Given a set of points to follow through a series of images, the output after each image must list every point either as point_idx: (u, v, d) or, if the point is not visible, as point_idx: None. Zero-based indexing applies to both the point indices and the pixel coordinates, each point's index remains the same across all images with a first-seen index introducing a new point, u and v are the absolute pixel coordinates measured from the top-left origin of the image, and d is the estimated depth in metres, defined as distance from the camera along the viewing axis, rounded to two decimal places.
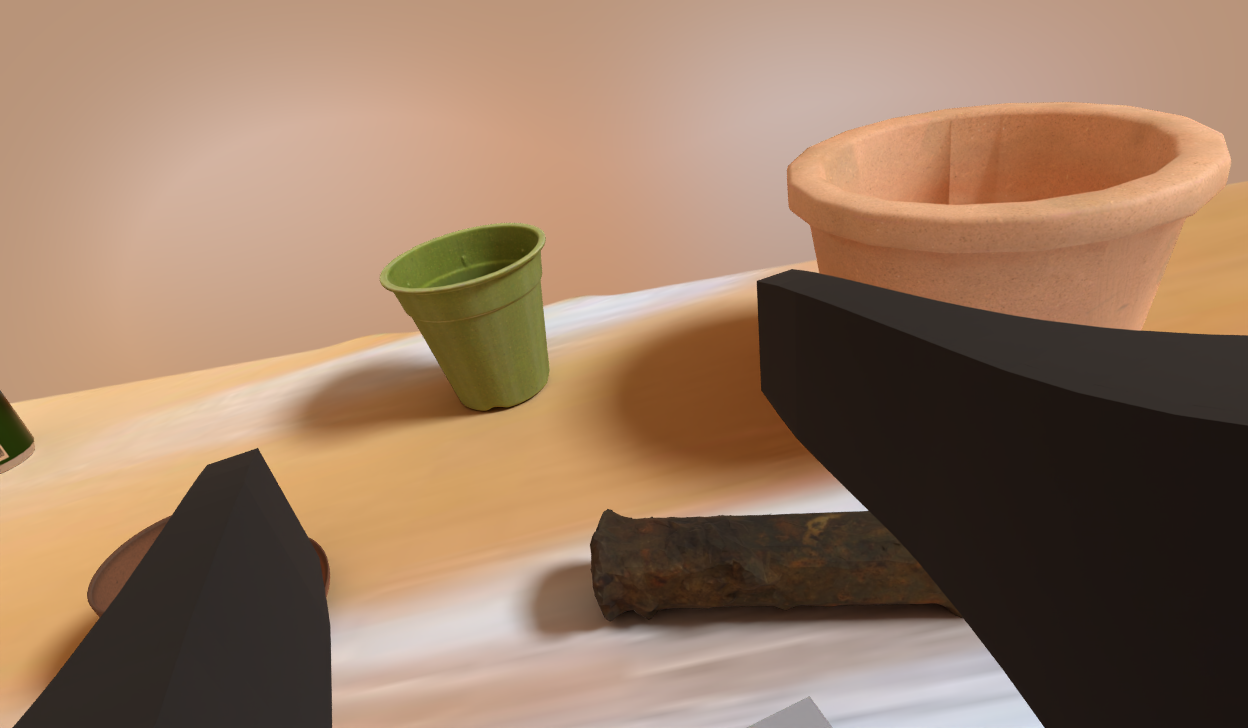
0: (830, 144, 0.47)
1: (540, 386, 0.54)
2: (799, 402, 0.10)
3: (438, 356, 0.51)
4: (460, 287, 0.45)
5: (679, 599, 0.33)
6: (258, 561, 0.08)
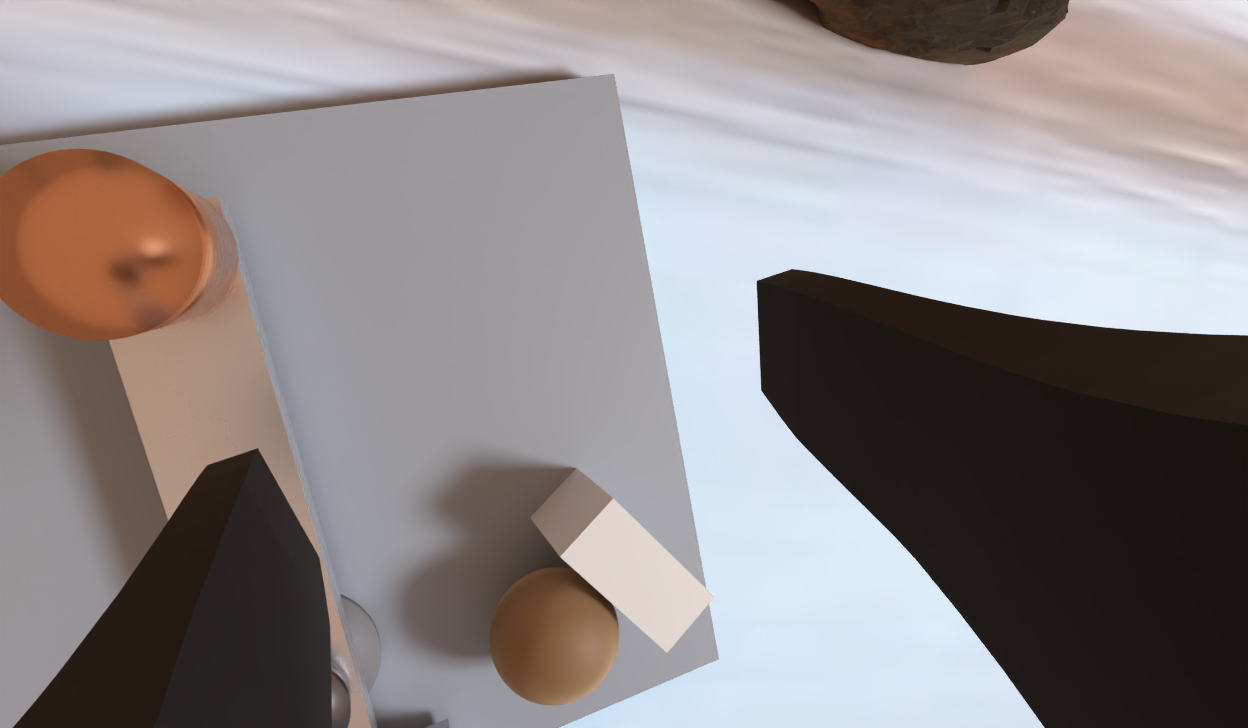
0: None
1: None
2: (799, 402, 0.10)
3: None
4: None
5: None
6: (258, 561, 0.08)
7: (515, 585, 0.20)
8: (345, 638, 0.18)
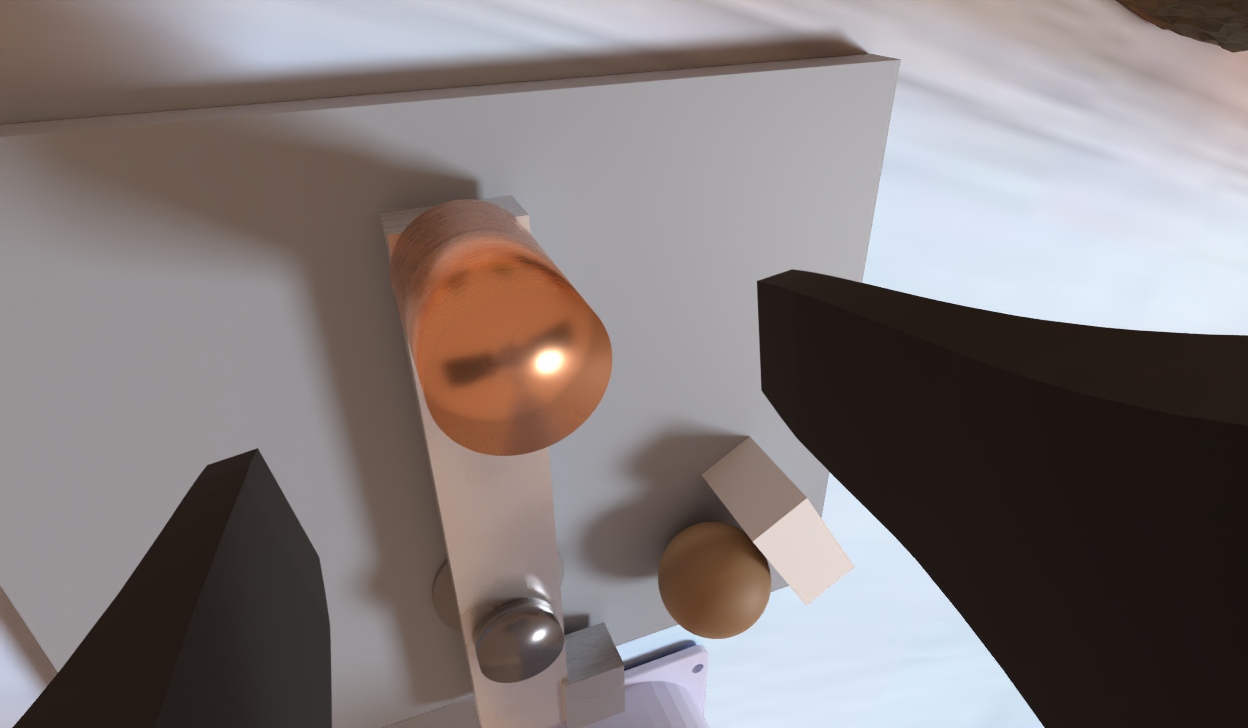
0: None
1: None
2: (799, 402, 0.10)
3: None
4: None
5: None
6: (258, 561, 0.08)
7: (691, 541, 0.22)
8: (559, 585, 0.20)
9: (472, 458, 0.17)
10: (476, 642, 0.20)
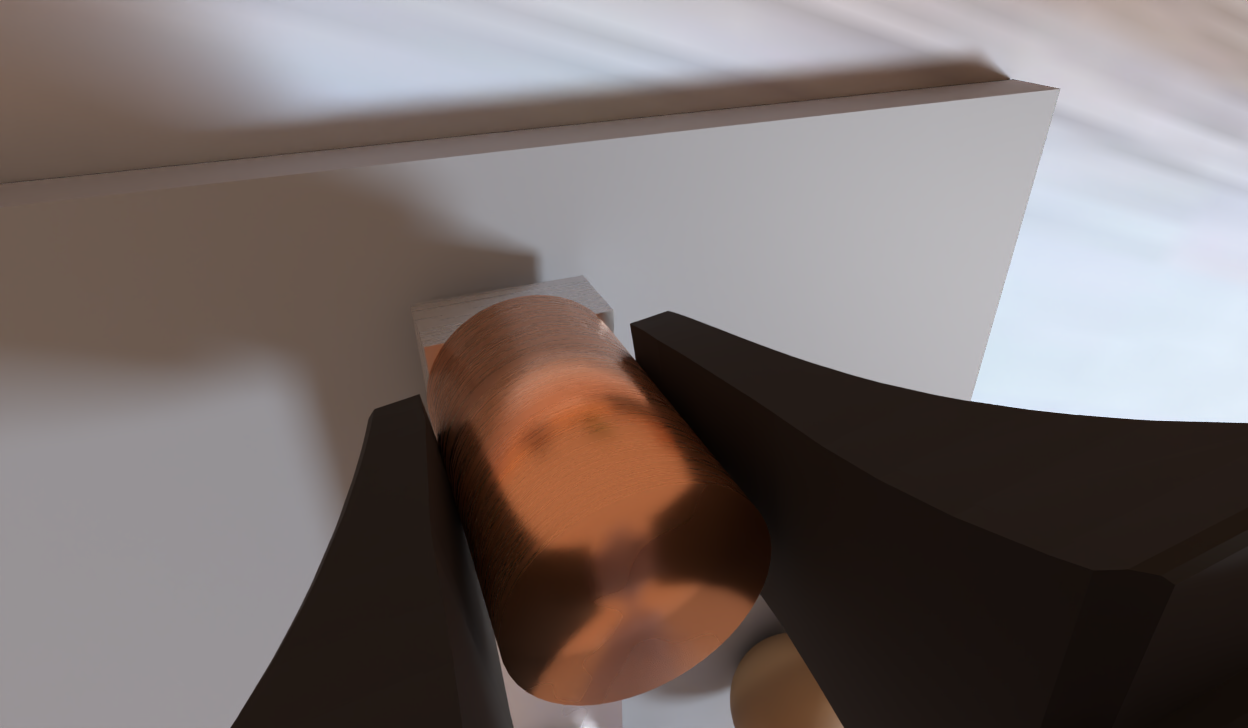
0: None
1: None
2: None
3: None
4: None
5: None
6: (444, 492, 0.08)
7: (773, 664, 0.18)
8: None
9: None
10: None
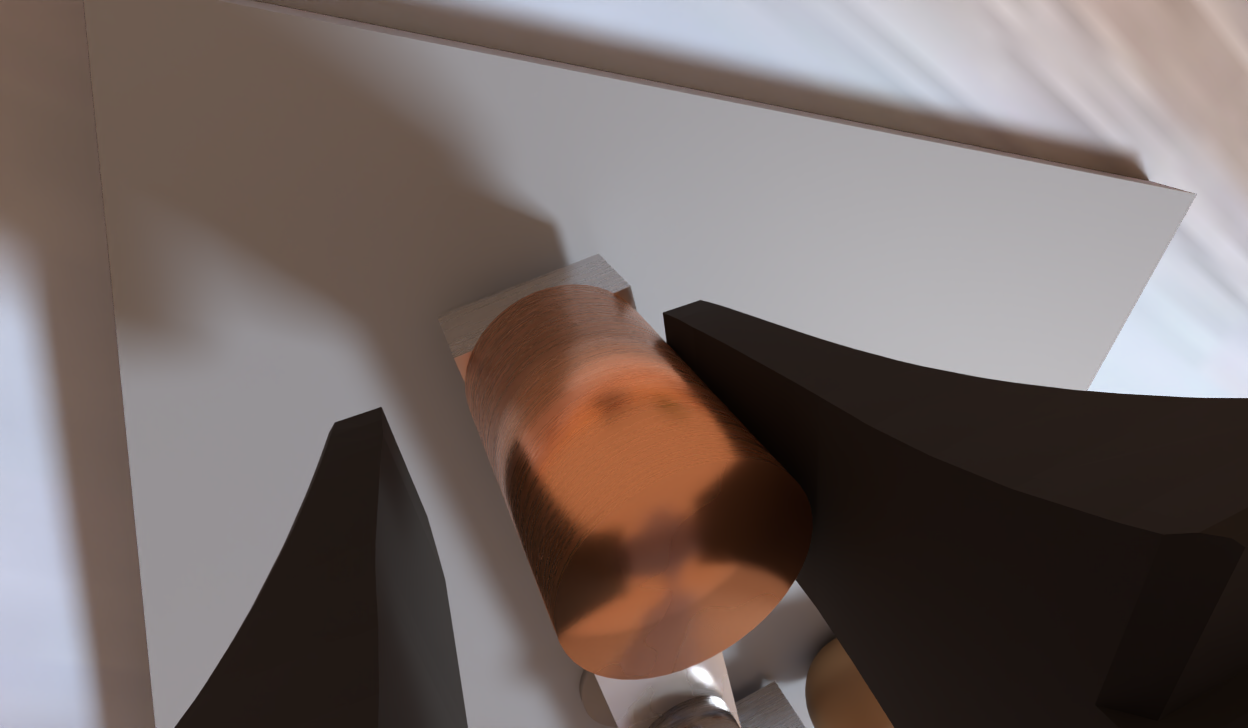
0: None
1: None
2: None
3: None
4: None
5: None
6: (400, 508, 0.08)
7: None
8: (726, 676, 0.17)
9: None
10: None
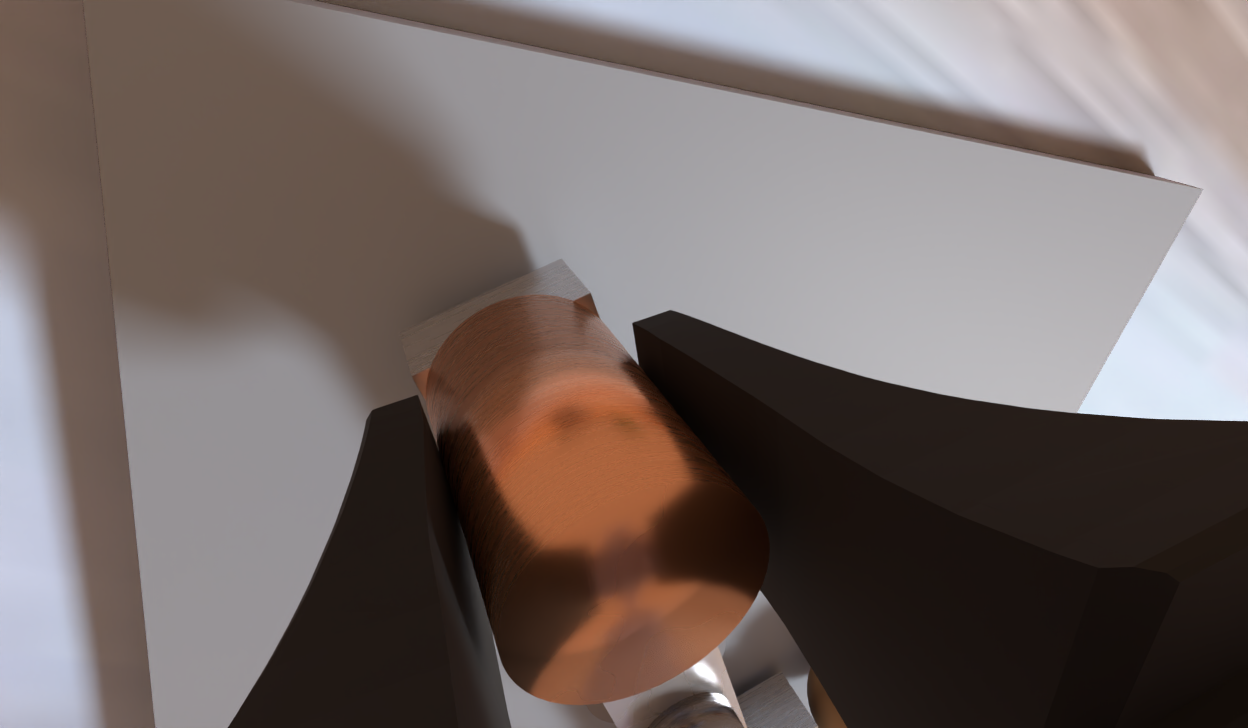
0: None
1: None
2: None
3: None
4: None
5: None
6: (441, 493, 0.08)
7: None
8: None
9: None
10: None
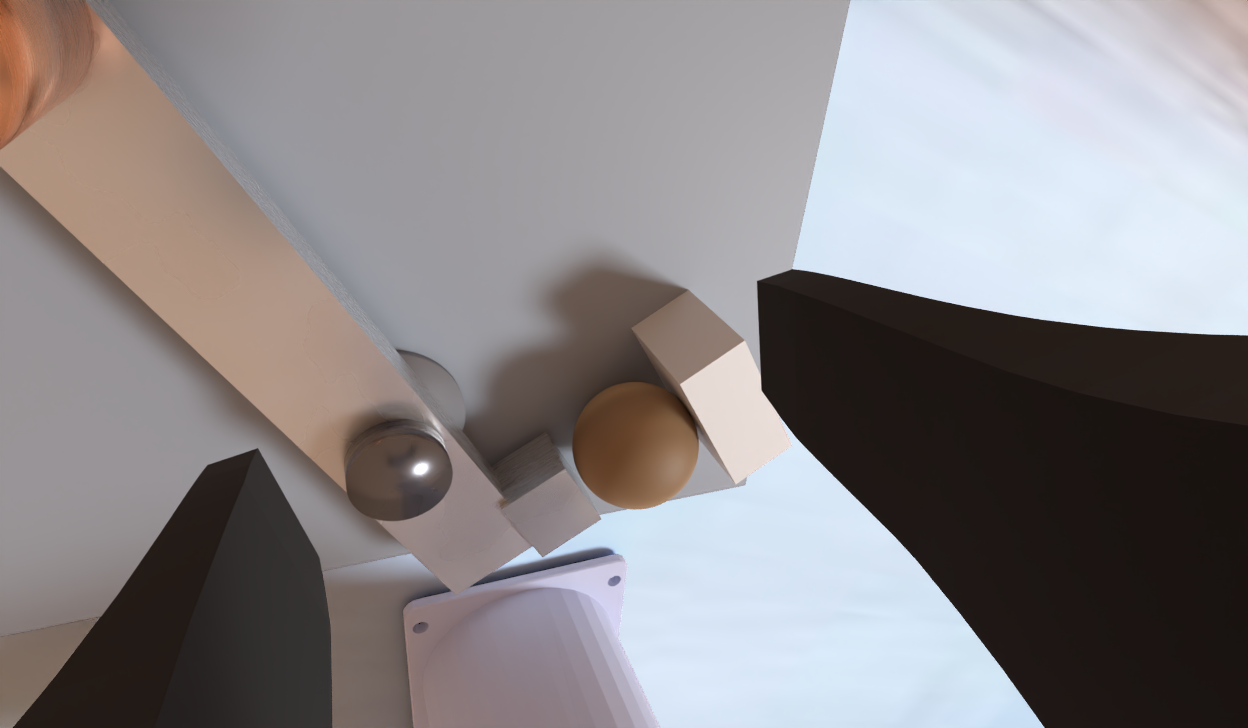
0: None
1: None
2: (799, 402, 0.10)
3: None
4: None
5: None
6: (258, 561, 0.08)
7: (612, 393, 0.20)
8: (420, 398, 0.17)
9: (183, 270, 0.14)
10: None
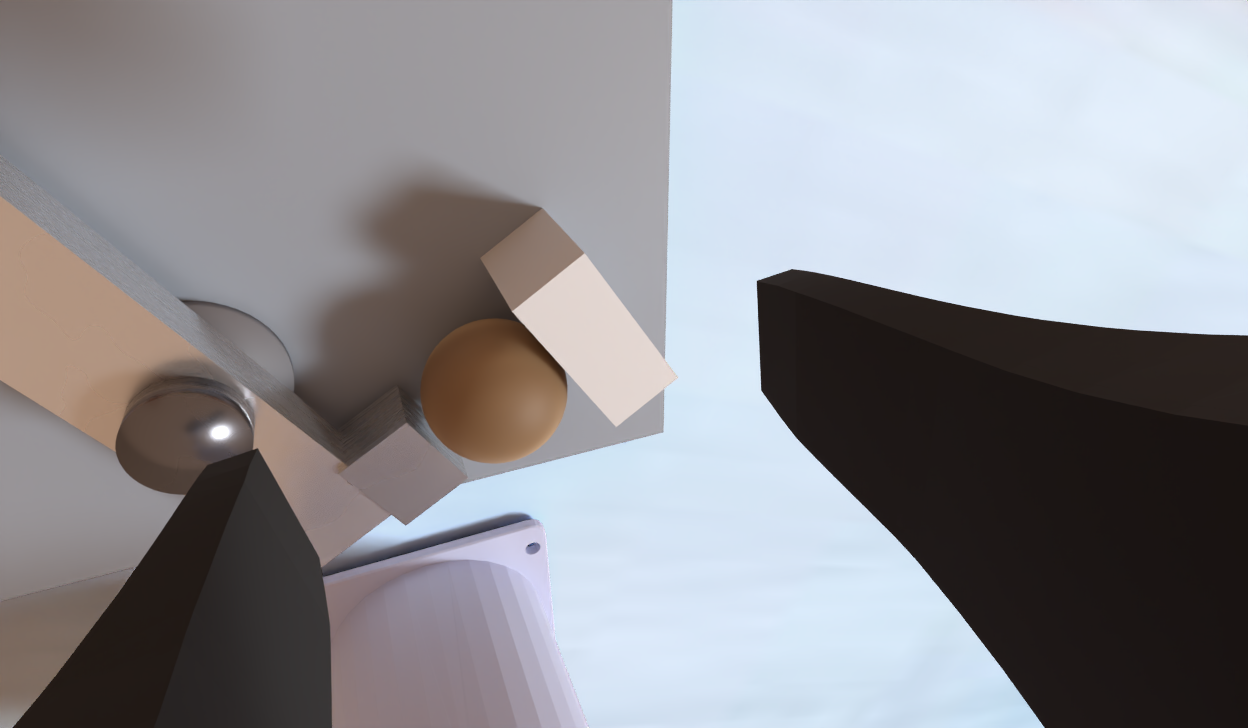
0: None
1: None
2: (799, 402, 0.10)
3: None
4: None
5: None
6: (258, 561, 0.08)
7: (455, 333, 0.17)
8: (200, 350, 0.15)
9: None
10: None
